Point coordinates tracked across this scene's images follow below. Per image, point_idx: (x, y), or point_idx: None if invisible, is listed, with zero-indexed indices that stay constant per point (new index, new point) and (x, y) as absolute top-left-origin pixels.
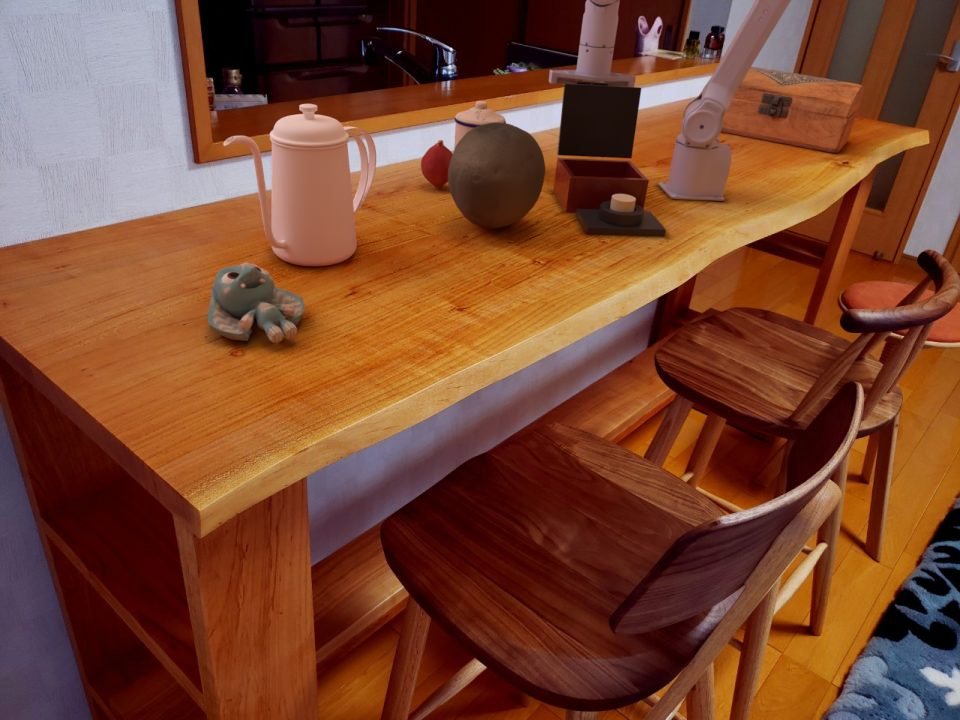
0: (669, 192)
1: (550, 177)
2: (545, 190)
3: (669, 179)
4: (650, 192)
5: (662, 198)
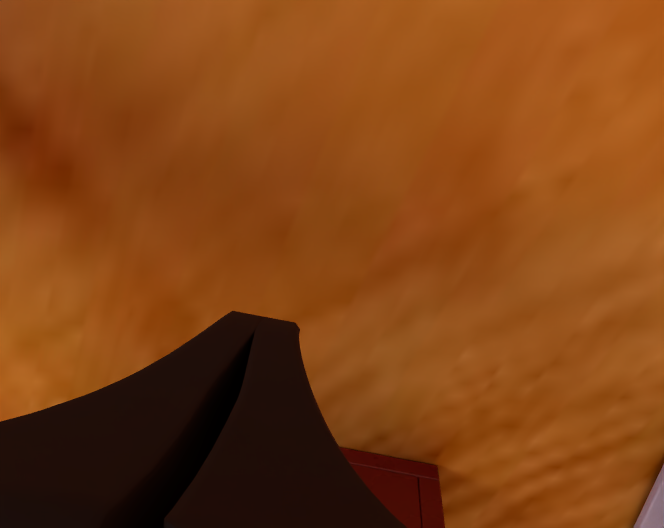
0: (652, 515)
1: (149, 203)
2: (78, 383)
3: None
4: (586, 455)
5: (590, 524)
